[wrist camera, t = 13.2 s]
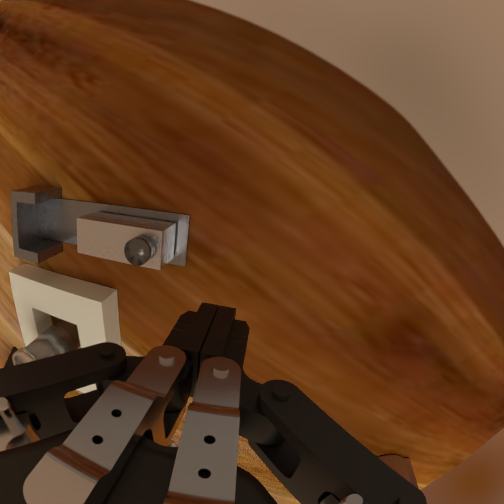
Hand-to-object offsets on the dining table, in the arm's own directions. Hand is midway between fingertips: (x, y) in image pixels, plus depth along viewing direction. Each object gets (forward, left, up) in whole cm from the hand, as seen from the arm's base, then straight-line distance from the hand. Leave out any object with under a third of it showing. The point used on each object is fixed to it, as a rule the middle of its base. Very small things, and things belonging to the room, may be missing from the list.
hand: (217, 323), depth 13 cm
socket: (+19, +13, -12) cm, 26 cm away
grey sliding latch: (+14, 0, -12) cm, 18 cm away
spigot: (+19, +13, -12) cm, 26 cm away
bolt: (+10, 0, -12) cm, 15 cm away
